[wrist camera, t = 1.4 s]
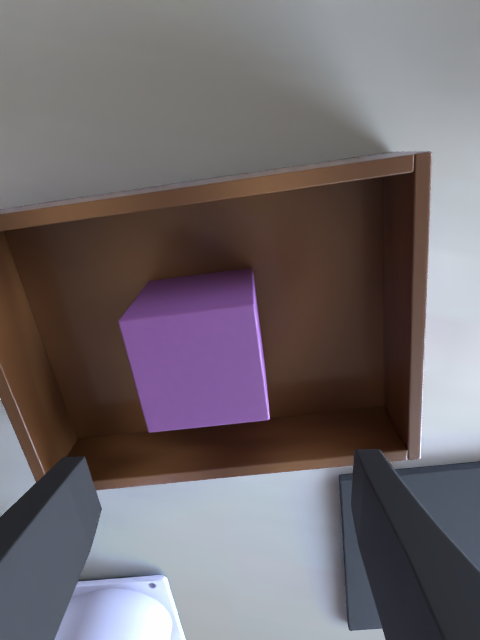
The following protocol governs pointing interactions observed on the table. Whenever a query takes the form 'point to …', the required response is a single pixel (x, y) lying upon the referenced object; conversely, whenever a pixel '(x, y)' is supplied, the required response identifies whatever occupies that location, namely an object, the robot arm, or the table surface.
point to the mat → (440, 502)
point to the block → (197, 351)
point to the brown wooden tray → (273, 306)
